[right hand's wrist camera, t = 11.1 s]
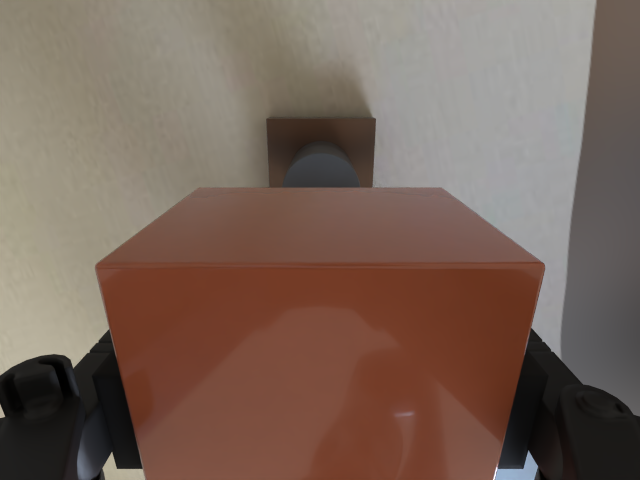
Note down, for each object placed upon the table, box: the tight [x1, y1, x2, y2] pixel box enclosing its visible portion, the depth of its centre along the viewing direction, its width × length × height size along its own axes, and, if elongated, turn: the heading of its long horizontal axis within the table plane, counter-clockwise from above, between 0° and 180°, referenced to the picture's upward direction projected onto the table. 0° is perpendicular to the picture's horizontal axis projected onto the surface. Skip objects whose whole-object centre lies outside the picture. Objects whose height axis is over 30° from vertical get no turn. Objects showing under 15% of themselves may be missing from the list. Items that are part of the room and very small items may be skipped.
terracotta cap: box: [95, 188, 545, 480], centre depth 11 cm, size 8×8×6 cm
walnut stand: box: [266, 117, 376, 188], centre depth 35 cm, size 28×10×12 cm, turn 0°
